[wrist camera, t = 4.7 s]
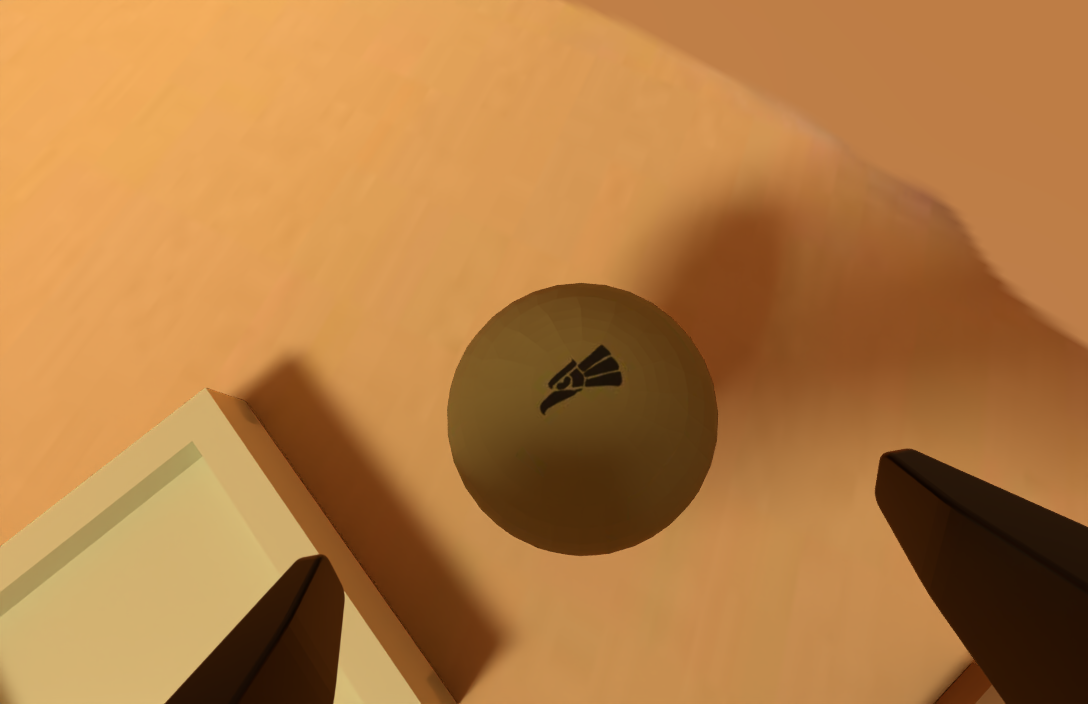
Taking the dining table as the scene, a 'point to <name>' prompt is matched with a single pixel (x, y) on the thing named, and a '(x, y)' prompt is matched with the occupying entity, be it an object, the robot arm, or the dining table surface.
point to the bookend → (971, 689)
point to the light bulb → (582, 419)
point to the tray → (182, 571)
